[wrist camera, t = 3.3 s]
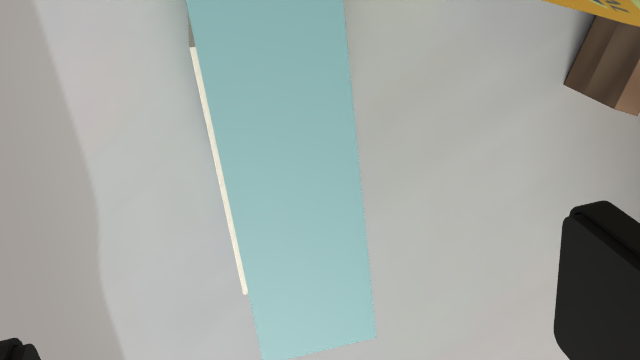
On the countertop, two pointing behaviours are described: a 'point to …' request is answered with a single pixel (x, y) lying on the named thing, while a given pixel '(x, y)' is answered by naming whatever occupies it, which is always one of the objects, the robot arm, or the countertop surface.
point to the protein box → (607, 9)
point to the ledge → (609, 65)
